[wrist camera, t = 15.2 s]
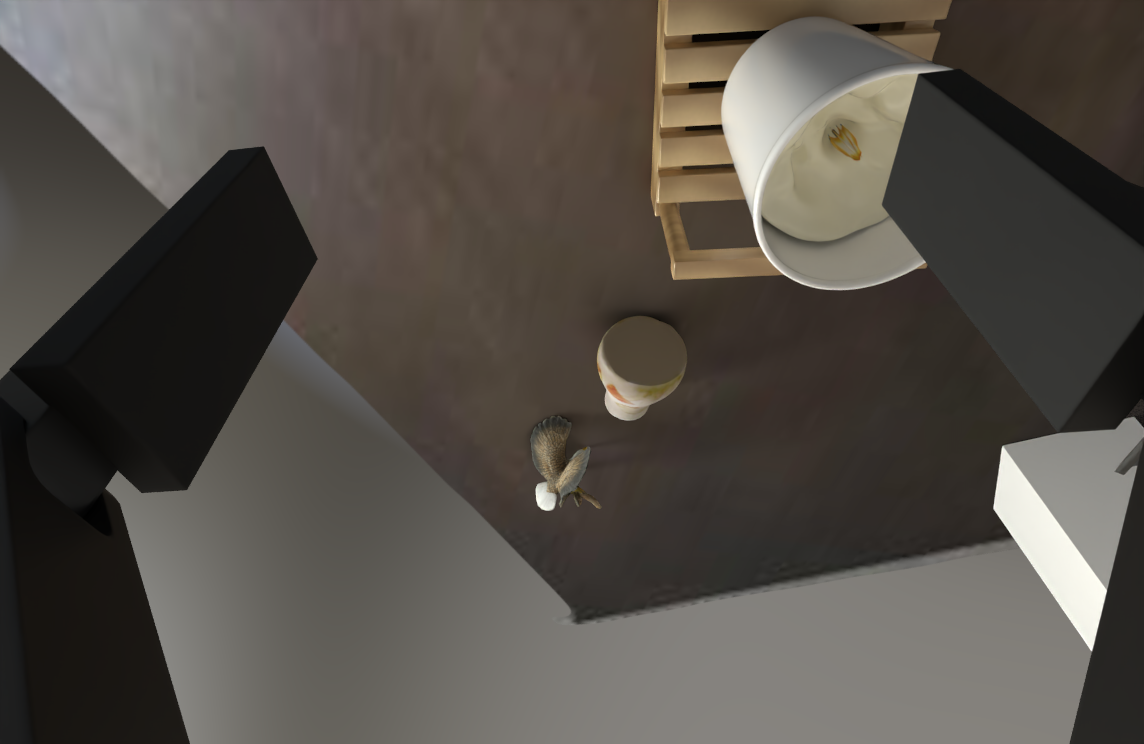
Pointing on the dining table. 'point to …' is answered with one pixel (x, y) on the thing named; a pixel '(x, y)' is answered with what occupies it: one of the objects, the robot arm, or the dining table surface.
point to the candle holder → (822, 149)
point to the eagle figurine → (558, 464)
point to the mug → (639, 365)
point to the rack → (719, 6)
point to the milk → (1069, 512)
